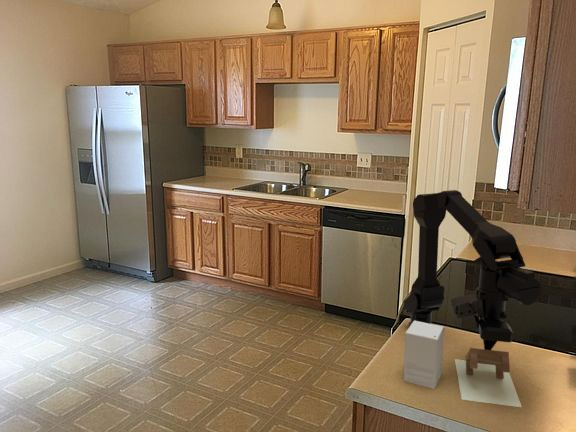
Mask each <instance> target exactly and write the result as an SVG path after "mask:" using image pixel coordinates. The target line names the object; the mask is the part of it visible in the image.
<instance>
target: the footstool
mask: <svg viewBox="0 0 576 432" xmlns="http://www.w3.org/2000/svg"><path fill="white" fill-rule="evenodd" d="M465 360H466V375H473V369H477V368H478V363H481V364H490V365H495V367H496V378H499V379H503V378H504V373H503V372H507V373H509V374H510V370H511V368H510V353H509V351H504V350H503V351H502V350H494V349H491V350H485V349H484V348H476V347H475V348H474V347H473V348H472V347H470V348H469V349H468V352H467V353H466V355H465Z"/></svg>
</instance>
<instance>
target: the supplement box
mask: <svg viewBox="0 0 576 432" xmlns="http://www.w3.org/2000/svg"><path fill="white" fill-rule="evenodd" d="M444 333H445V326H443V325H437V324H432V323H431V324H429V323H424V322H419V321H415V320H414V321H413V323H412V324H411V326H410V327H409V326H408V328H407V329H406V331H405V333H404V334H405V335H404V337H405V338H404V360H403V361H404V363H403V381H404V382H408V383H411V384H413V385H414V384H415V385H416V386H417V385H418V386H421V387H425V388H427V389H428V388H429V389H432V390H435V389H436V386H437V385H438V383H439V381H440V378H441V376H442V369H443V368H442V367H443V349H444V335H445V334H444Z"/></svg>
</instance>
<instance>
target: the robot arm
mask: <svg viewBox="0 0 576 432" xmlns="http://www.w3.org/2000/svg"><path fill="white" fill-rule="evenodd" d="M412 209H413V218H414V219H415V220H416V223H417V224H418V226H419V234H418V235H419V236H418V264H417V265H418V266H417V267H418V269H417V270H418V271H417V277H416V279H415V281H414V282H413V283H412V286H411V290H410V294H409V296H408V297H406V298H405V299H404V300H403V307H404V310H406V311H407V312H408V313H410V321H409V322H408V328H409V327H410V326H411V324H412V323H413V321H414V320H415V321H419V322H424V323H429V324H432V319H433V318H432V317H433V316H432V315H433V312H435V311H436V312H437V311H440V308H441V306H442V305H443V301H444V300H445V286H444V285H442V284H441V283H440V282H439V279H438V278H437V277H438V258H439V257H438V254H439V253H438V252H439V235H440V234H439V230H440V229H439V228H440V226H441V225H442V223H443V221H444V219H445V218H446V215H447V212H448V213H449V215H451V217H453V218H454V220H456V222H457V224H459V225H460V226H461V227H462V228H463V229H464V230H465V231H466V233H468V235H469V236H470V237H471V240H472V243H471V244H472V247H473V248H474V249H475V252H477V255H478V256H479V257H477V258H476V259H474V260H473V262H474V264H477V265H479V266H480V269H479V283H478V286H477V287H476V288H475V293H472V294H465V295H462V296H457V297H453V298H451V299H450V303H451V306H452V310H453V313H454V315H455V318H456V319H463V318H466V317H471V316H473V318H474V321H475V325H476V328H477V330H478V334H479V337H480V339H482V343H483V349H485V350H493V348H494V347H495V346H496V344H497V342H500V343H501V342H502V343H512V342H513V339H514V338H513V337H514V332H513V329H512V327H511V326H510V324H508V323H507V321H504V320H505V319H507V316H508V315H507V312H506V302H509V298H510V299H512V300H514V301H516V302H518V303H520V304H521V305H524V306H531V305H532V304H534V303H536V302H537V300H538V299H539V298H540V296H541V293H542V286H541V283H540V281H539V280H538V279H536V278H535V277H536V273H535V272H534V271H532V270H526V269H523V268H524V267H526V263H525V261H524V257H523V255H522V253H521V251H520V248H519V247H518V244H517V240H516V238H515V237H514V235H513V234H512V233H511V232H509V231H507V229H504V228H503V227H502V226H498V225H495V224H492V223H491V222H489V221H488V220H487V219H486V218H485V217H484V216H483V215H482V214H481V213H480V212H479V211H478V210H477V209H476V208H474V206H473V205H472V204H470V202H468V201H467V199H466V198H464V197H463V193H461V191H459V190H456V189H452V190H451V189H448V190H442V191H441V192H435V193H432V192H431V193H423V194H417V195H416V196H415V197H414V198H413V201H412ZM503 259H504V260H503ZM498 260H499V261H498Z"/></svg>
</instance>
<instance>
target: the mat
mask: <svg viewBox="0 0 576 432" xmlns="http://www.w3.org/2000/svg"><path fill="white" fill-rule="evenodd" d="M454 362H455V363H454V365H455V368H456V374H457V379H458V386H459V392H460V397H461V400H463V401H470V402H478V403H484V404H485V403H486V404H494V405H501V406H509V407H516V408H522V403H521V401H520V398H519V396H518V393H517V390H516V387H515V385H514V382H513V380H512V377H511V374H510V372H509V373H507V372H503V373H504V378H503V379H499V378H496V367H495V365H490V364H481V363H478V368H477V369H473V375H466V359H465V360H464V359H457V358H454Z"/></svg>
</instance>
